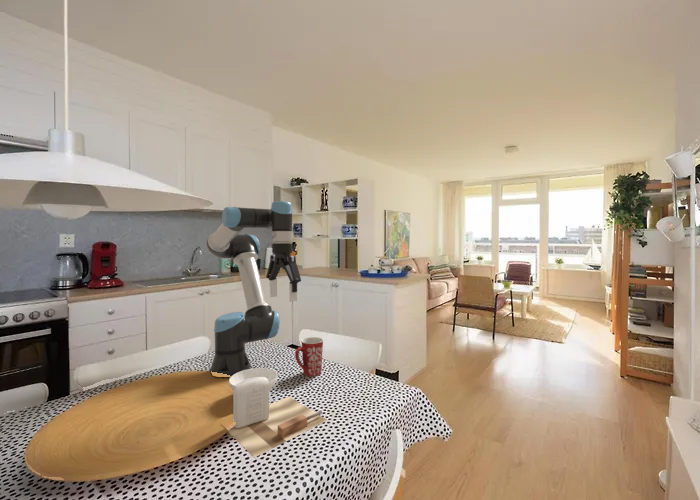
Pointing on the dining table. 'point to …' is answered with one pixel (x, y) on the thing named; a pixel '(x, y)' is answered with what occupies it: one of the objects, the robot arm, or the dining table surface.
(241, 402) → the photo printer
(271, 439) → the light wooden cutting board
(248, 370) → the bowl
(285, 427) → the awl
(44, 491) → the dining table surface
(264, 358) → the dining table surface
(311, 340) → the mug
